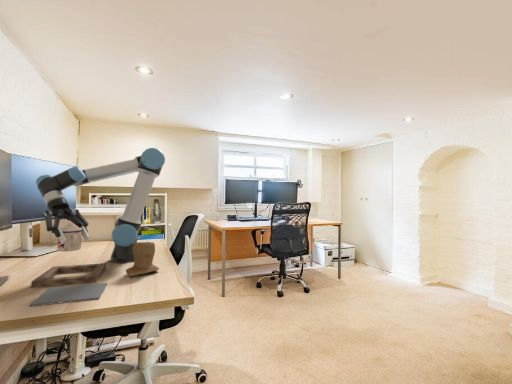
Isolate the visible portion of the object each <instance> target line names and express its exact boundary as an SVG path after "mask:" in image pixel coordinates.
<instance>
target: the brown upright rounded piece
mask: <svg viewBox="0 0 512 384" xmlns="http://www.w3.org/2000/svg"><path fill="white" fill-rule="evenodd" d="M155 244H156V243H155V242H154V241H153V242H152V241H145V242H144V241H142V242H141V241H140V242H139V241H137V243H134V244H133V247H132V253H133V258H134V261H133V266H131V267H129V268H126V269H125V272H126V276H128V277H135V276H139V275H143V274H144V275H145V274H149V273H152V272H155V271H158V270H160V268H159V267H158V266H156V265H154V264H153V260H154V257H155V253H156V245H155Z"/></svg>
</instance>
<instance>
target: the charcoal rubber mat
mask: <svg viewBox="0 0 512 384" xmlns="http://www.w3.org/2000/svg"><path fill="white" fill-rule="evenodd" d="M107 286H108V282H104V283H103V282H101V283H87V284H80V285H79V284H76V285H64V286H56V287H55V286H53V287H48V288H47V289H46V290H45V291H43V292H42V293H41V294H39V296H38V297H37V298H36V299H34V300H32V302H31V303H30V304H29V305H28V307H36V306H35V305H37V306H43V305H42V304H47V305H51V304H50V303H57V304H60V303H59V302H66V303H71V302H70V301H76V302H82V301H81V300H85V301H92V300H91V299H95V300H99V299H100V298H101V296H102V295H103V293H104V292H105V289H106V288H107ZM105 287H106V288H105ZM101 294H102V295H101Z"/></svg>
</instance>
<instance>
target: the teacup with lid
mask: <svg viewBox="0 0 512 384" xmlns="http://www.w3.org/2000/svg"><path fill="white" fill-rule="evenodd" d="M60 228H61V230H62V232H63V234H64V236H65V238H66V241H65V243H64V244H61V242H60V240H59V238H58V237H57V246H56V251H57V252H76V251H80V249H81V248H82V238H83V236H82V228H79V227H78V226H76V225H74V223H72V222H71V223H67V225H65V226H64V227H60Z"/></svg>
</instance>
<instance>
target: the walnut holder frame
mask: <svg viewBox="0 0 512 384" xmlns="http://www.w3.org/2000/svg"><path fill="white" fill-rule="evenodd" d="M106 269H107V263H105V262H103V263H91V264H90V263H89V264H77V265H76V264H75V265H74V264H72V265H56V266H51V267H50V268H49V269H47V270H46V271H45V272H43V273H42V274H40V275H39V276H37V277H35V278H34V279H33V280H32V281H31V282H30V286H31V287H30V288H31V289H33V288H35V289H36V288H47V287H55V286H56V287H60V286H71V285H79V284H80V285H83V284H94V283H97V281H98V280H99V279H100V277H101V276H102V274H103V273H104V272H105V270H106ZM80 272H91V273H90V274H85V275H71V276H70V275H69V276H59V277H56V276H57V275H58V274H65V273H66V274H67V273H68V274H69V273H80ZM93 282H94V283H93Z"/></svg>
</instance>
